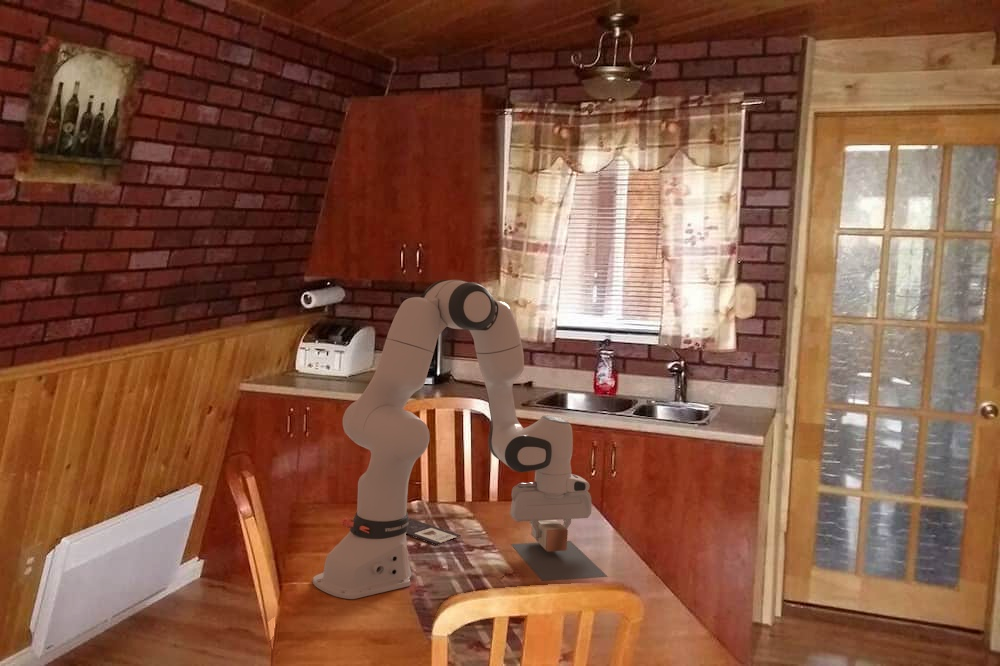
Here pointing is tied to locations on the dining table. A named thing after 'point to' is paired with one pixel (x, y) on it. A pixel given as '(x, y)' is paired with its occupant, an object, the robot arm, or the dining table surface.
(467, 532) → the dining table surface
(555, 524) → the ash block
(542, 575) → the rubber mat
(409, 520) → the chocolate bar
